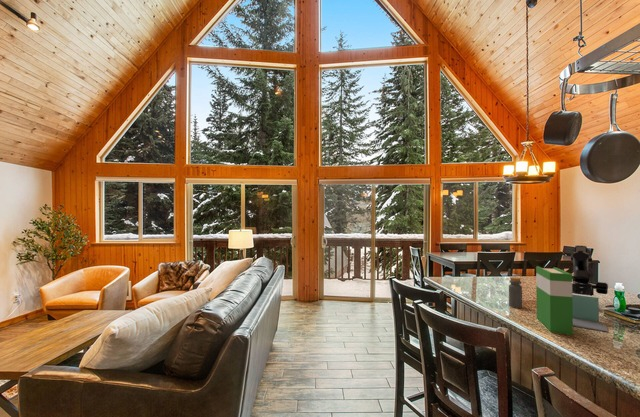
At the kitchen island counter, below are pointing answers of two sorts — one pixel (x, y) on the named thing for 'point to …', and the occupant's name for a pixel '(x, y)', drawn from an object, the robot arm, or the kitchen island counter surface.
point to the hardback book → (554, 300)
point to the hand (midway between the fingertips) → (581, 300)
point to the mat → (589, 325)
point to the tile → (585, 307)
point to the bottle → (515, 292)
